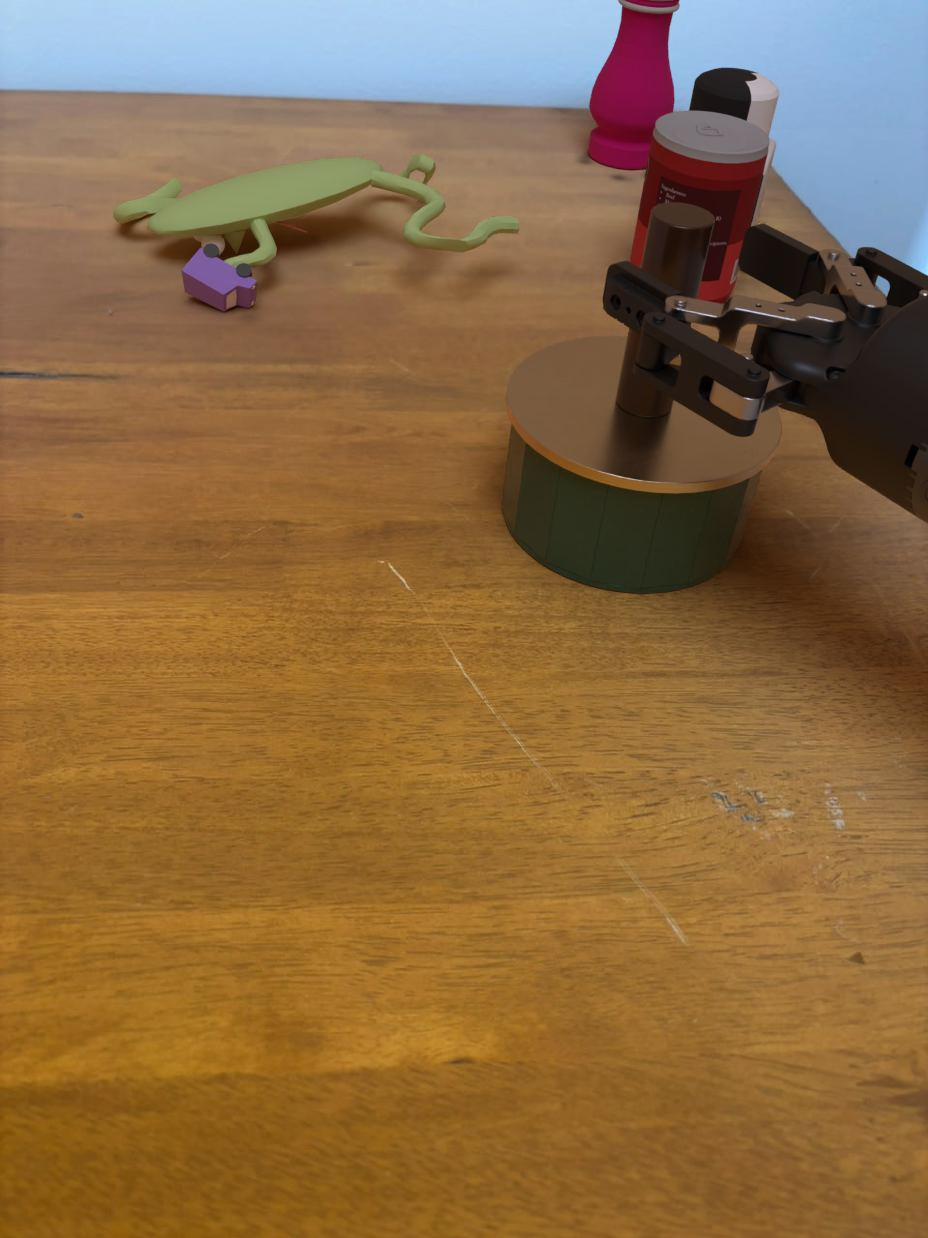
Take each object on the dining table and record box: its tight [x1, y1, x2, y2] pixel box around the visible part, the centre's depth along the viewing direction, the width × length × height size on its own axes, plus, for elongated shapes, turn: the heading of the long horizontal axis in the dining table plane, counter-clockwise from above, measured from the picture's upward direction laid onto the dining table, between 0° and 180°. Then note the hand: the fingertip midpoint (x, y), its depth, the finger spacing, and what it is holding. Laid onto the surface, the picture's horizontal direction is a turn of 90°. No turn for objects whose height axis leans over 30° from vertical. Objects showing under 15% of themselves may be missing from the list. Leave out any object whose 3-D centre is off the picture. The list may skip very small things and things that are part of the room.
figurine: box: [112, 153, 520, 312], centre depth 80 cm, size 18×27×6 cm
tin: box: [501, 423, 764, 594], centre depth 59 cm, size 13×13×6 cm
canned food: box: [629, 110, 771, 304], centre depth 79 cm, size 8×8×11 cm
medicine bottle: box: [688, 67, 780, 227], centre depth 85 cm, size 7×7×12 cm
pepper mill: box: [587, 0, 681, 170], centre depth 94 cm, size 7×7×20 cm
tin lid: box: [505, 202, 783, 494], centre depth 54 cm, size 14×14×11 cm
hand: (681, 262), depth 51 cm, fingers open, 8 cm apart
